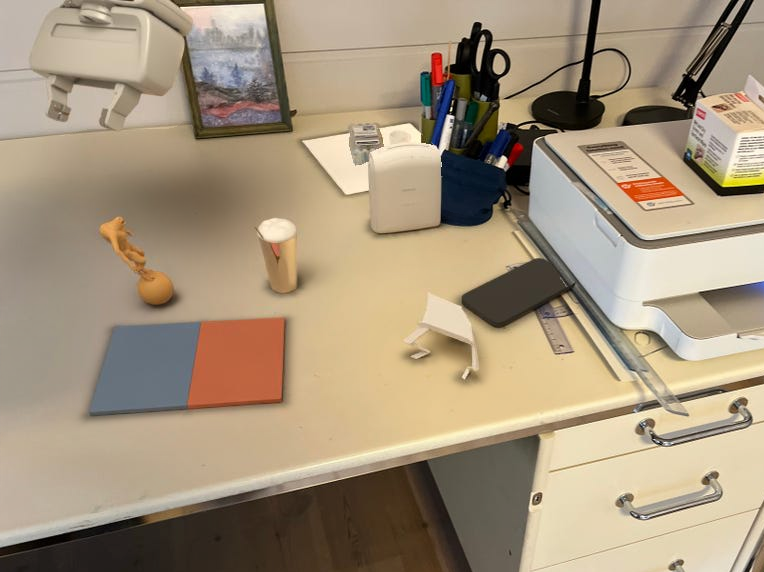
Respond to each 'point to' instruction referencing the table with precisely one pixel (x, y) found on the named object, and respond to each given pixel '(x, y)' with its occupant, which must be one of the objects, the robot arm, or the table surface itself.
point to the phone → (515, 292)
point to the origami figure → (445, 327)
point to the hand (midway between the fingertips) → (81, 124)
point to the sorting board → (191, 366)
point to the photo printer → (404, 187)
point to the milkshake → (279, 253)
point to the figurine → (137, 263)
